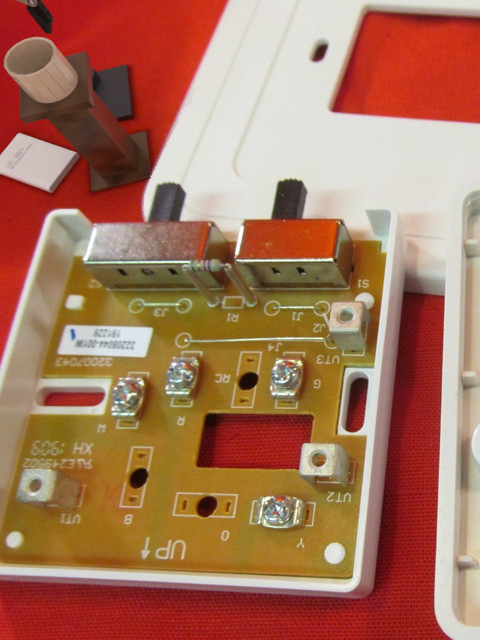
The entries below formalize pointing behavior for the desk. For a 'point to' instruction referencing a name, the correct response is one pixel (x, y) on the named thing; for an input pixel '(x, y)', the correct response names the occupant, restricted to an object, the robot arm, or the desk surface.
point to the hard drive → (36, 162)
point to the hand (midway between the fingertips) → (14, 35)
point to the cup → (41, 70)
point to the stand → (93, 131)
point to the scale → (114, 90)
